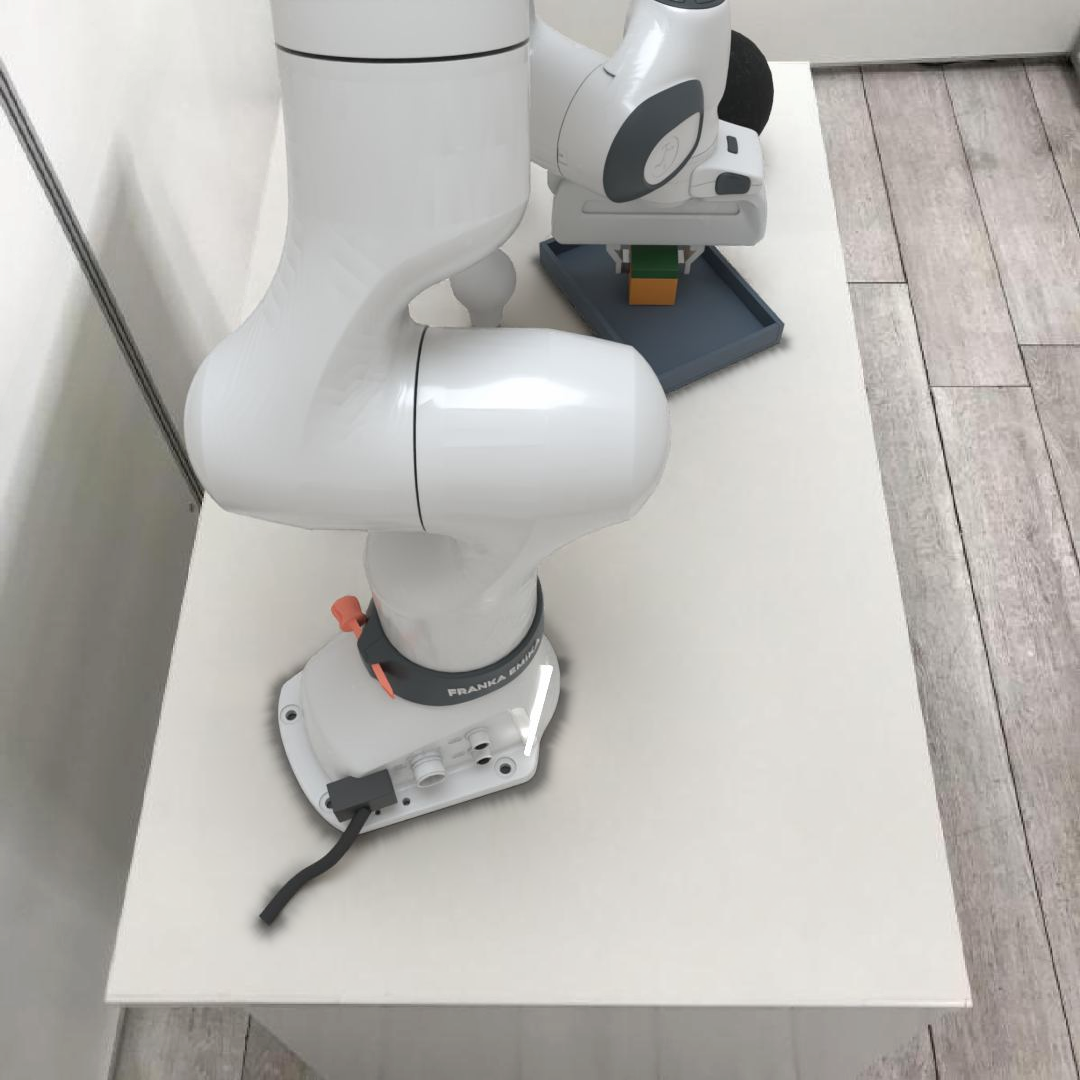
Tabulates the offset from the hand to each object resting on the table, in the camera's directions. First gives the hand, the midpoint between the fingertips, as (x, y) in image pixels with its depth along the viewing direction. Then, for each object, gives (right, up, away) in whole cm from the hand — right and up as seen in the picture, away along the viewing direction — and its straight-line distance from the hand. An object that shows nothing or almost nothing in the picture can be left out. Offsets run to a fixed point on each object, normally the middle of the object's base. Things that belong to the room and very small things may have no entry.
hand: (652, 269), depth 106 cm
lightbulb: (-16, -7, -1) cm, 18 cm away
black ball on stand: (+6, +14, +12) cm, 20 cm away
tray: (0, -3, +1) cm, 3 cm away
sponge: (0, -1, +1) cm, 2 cm away
